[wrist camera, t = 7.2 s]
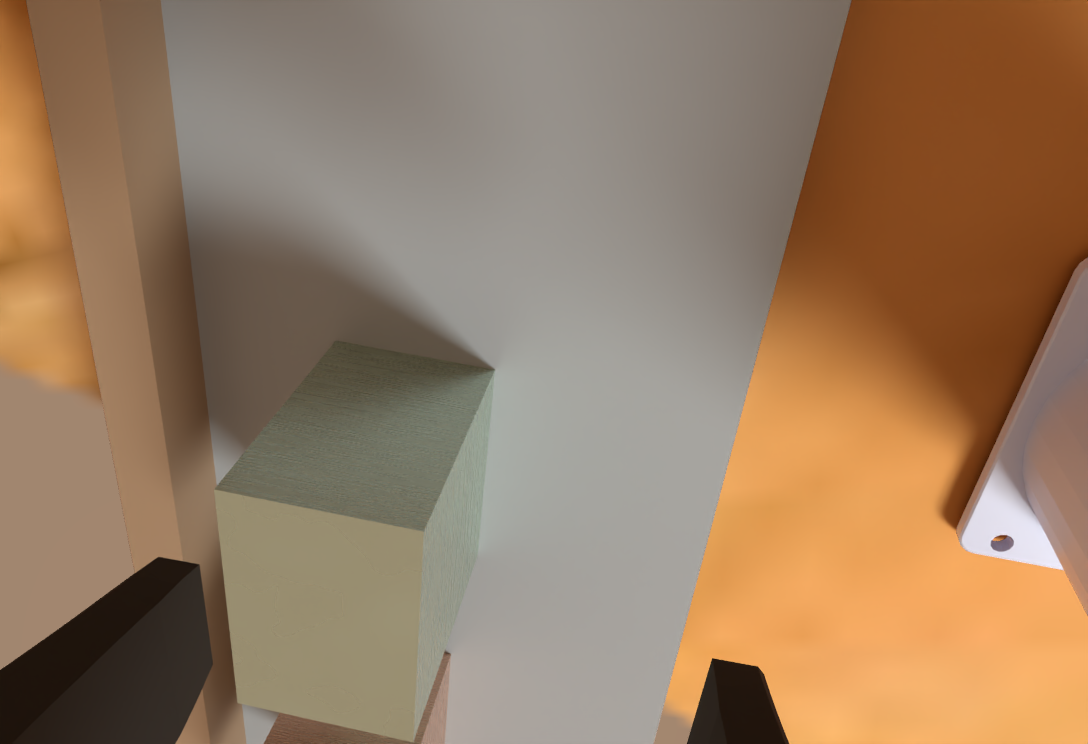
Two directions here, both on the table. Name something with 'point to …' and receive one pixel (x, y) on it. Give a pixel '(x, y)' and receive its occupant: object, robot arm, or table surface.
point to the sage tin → (355, 537)
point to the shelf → (447, 286)
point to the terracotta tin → (310, 740)
